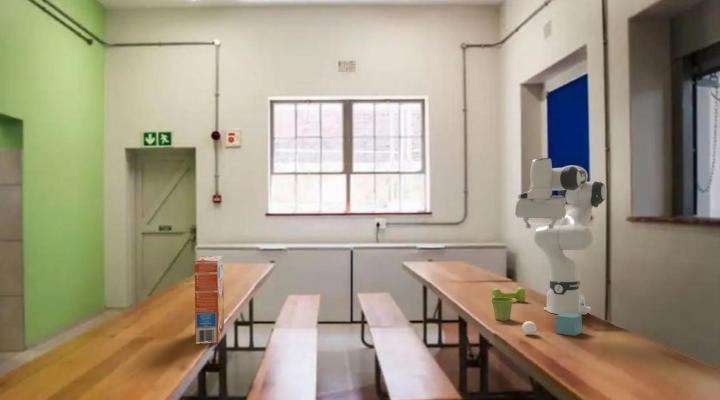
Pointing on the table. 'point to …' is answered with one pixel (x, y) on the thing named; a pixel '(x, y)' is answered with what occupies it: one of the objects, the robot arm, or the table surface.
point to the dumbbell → (510, 294)
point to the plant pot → (502, 308)
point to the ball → (529, 328)
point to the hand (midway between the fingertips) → (539, 228)
